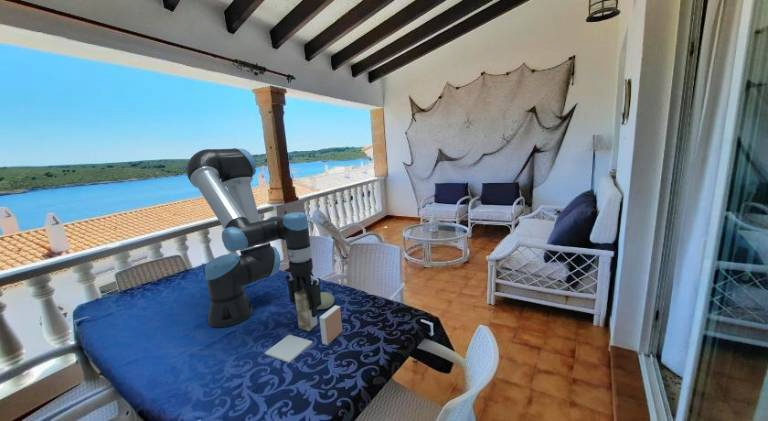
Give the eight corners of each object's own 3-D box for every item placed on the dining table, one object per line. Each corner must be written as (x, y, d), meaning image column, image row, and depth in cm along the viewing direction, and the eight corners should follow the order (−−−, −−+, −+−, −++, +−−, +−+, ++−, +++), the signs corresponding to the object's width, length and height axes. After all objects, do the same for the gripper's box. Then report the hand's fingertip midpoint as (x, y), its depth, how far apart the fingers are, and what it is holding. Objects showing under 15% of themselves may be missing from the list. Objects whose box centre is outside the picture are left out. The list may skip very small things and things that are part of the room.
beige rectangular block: (299, 328, 103) (294, 293, 100) (307, 321, 107) (303, 287, 104) (309, 331, 101) (304, 295, 98) (317, 324, 104) (313, 289, 102)
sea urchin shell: (331, 307, 112) (315, 292, 112) (319, 320, 114) (303, 306, 114) (339, 295, 121) (325, 282, 121) (328, 308, 123) (313, 295, 123)
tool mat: (264, 354, 90) (264, 352, 90) (289, 336, 98) (289, 334, 98) (289, 363, 85) (289, 361, 85) (312, 343, 94) (312, 341, 94)
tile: (322, 343, 93) (319, 317, 92) (337, 330, 100) (335, 305, 99) (327, 345, 92) (325, 318, 91) (342, 331, 99) (340, 306, 98)
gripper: (272, 260, 100) (281, 323, 104) (313, 266, 92) (321, 334, 96) (289, 253, 107) (296, 313, 111) (328, 258, 98) (335, 322, 102)
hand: (308, 323), depth 103 cm, fingers closed on beige rectangular block, 4 cm apart
